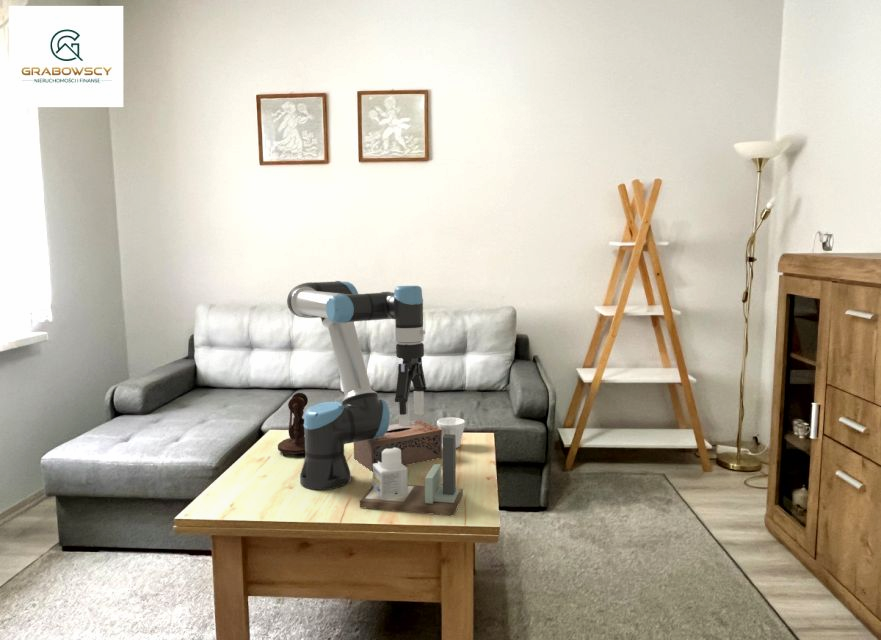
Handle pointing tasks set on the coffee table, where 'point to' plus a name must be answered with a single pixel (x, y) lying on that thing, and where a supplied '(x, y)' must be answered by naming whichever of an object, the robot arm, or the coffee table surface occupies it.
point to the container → (389, 473)
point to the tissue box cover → (403, 444)
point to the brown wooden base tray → (410, 502)
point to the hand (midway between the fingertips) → (412, 419)
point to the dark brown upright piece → (295, 426)
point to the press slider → (449, 475)
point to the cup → (452, 428)
